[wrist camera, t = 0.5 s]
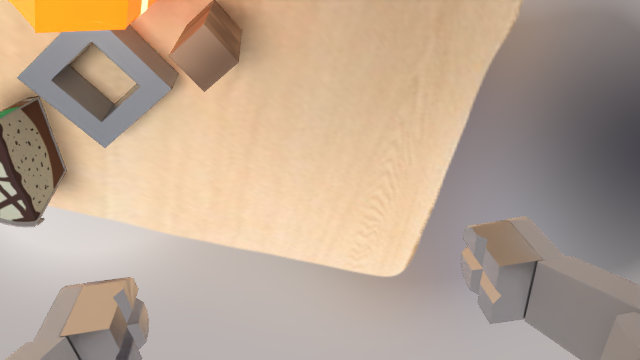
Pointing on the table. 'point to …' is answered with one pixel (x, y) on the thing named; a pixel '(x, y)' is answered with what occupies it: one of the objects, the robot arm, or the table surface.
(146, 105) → the socket
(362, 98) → the table surface
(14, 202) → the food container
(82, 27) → the orange juice
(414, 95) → the table surface
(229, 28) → the peg
